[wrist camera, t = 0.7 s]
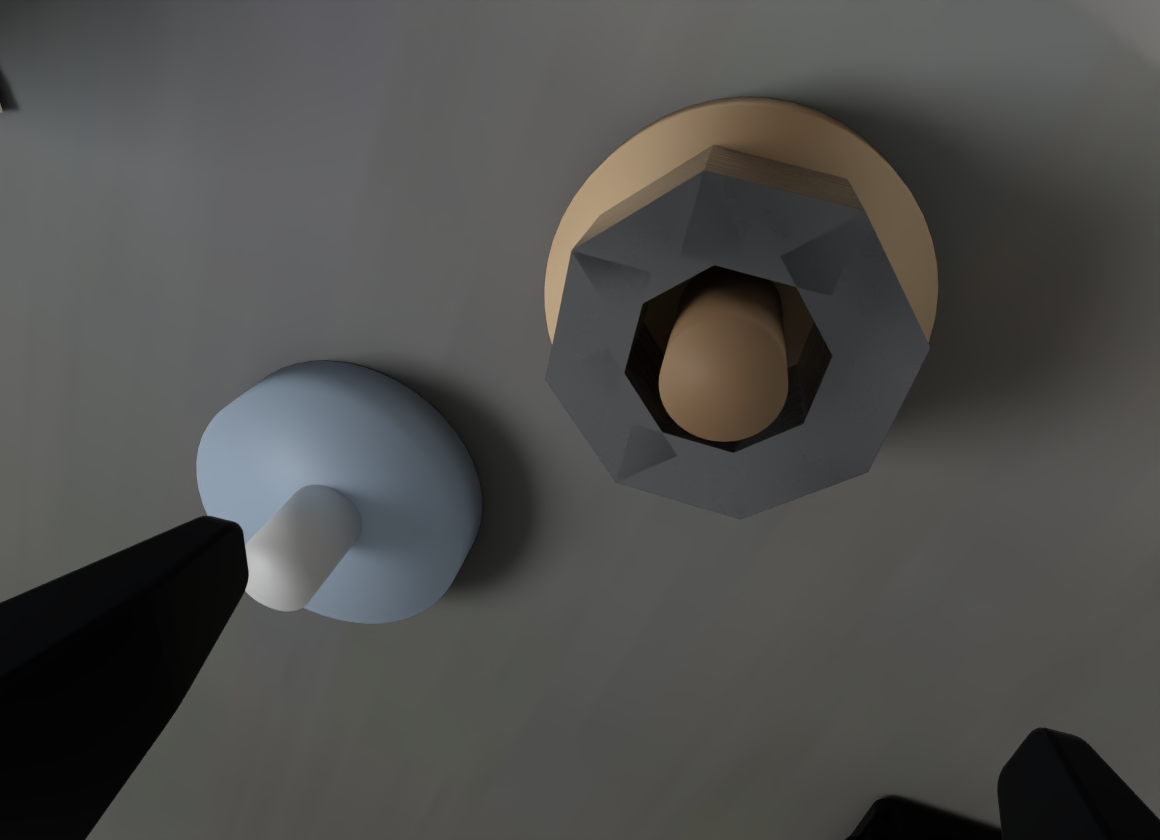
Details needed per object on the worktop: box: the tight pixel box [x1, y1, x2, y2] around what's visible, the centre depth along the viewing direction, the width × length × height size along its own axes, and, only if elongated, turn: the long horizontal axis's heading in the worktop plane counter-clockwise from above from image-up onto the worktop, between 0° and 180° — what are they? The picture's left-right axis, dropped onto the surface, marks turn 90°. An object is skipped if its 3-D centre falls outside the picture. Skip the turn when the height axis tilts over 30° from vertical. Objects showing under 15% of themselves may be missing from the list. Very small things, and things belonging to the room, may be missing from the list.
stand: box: [545, 97, 938, 442], centre depth 16 cm, size 9×9×6 cm
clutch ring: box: [545, 145, 930, 519], centre depth 16 cm, size 7×7×3 cm
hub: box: [197, 361, 482, 624], centre depth 23 cm, size 9×9×5 cm
